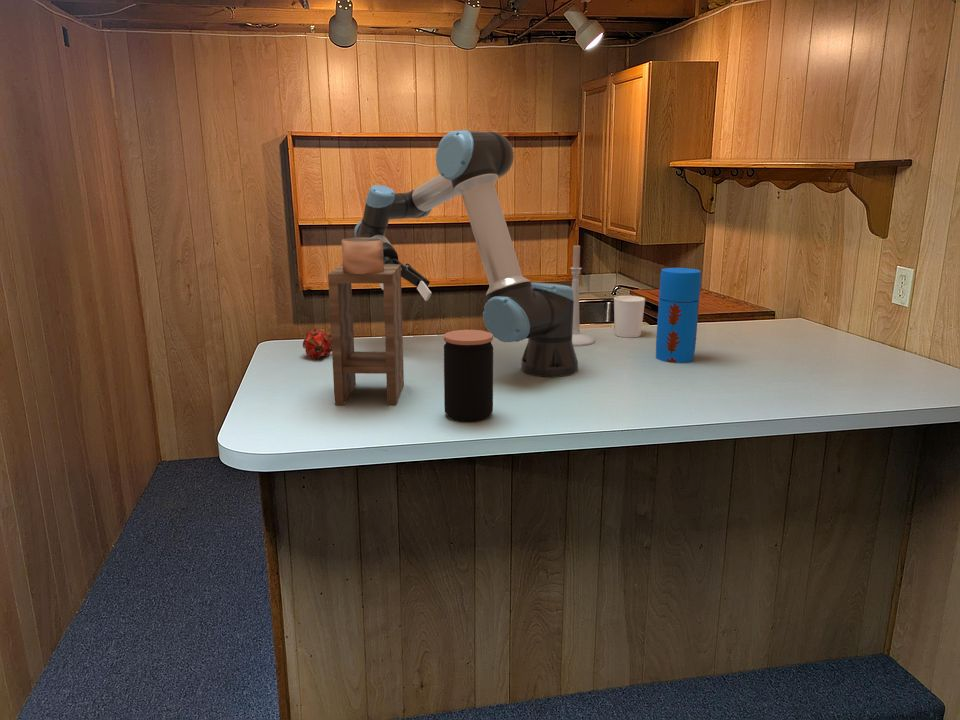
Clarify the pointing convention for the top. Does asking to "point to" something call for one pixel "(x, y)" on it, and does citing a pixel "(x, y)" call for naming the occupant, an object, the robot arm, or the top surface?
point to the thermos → (678, 314)
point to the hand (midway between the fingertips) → (407, 291)
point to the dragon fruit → (317, 343)
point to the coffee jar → (468, 375)
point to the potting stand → (343, 334)
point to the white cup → (628, 316)
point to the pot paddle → (362, 255)
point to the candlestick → (577, 303)
